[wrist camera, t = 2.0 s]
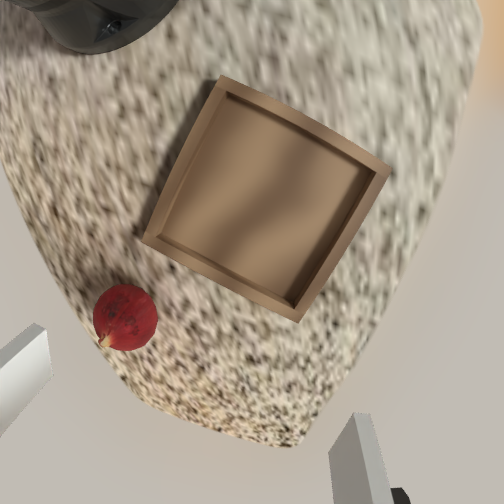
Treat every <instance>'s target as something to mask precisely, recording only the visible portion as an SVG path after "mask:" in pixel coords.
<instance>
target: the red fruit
mask: <svg viewBox="0 0 504 504" xmlns="http://www.w3.org/2000/svg"><path fill="white" fill-rule="evenodd" d="M157 322H158V317H157V311H156V306H155V304H154V302H153V300H152V298H151V297H150V296H149V295H148V294H147V293H146V292H145V291H144V290H143V289H141V288H139V287H137V286H134V285H131V284H120V285H116V286H113V287H111V288H110V289H108V290H107V291H105V292H104V293H103V294H102V295H101V296H100V298H99V300H98V302H97V303H96V305H95V307H94V311H93V325H94V328H95V331H96V334H97V336H98V337H99V338H100V339H99V340H98V343H99V344H100V346H101V347H111V348H113V349H116V350H122V351H132V350H135V349H137V348H140V347H142V346H144V345H145V344H146V343H147V342H148V341H149V340H150V338H151V337H152V336H153V335H154V333H155V329H156V326H157Z"/></svg>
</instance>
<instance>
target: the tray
mask: <svg viewBox="0 0 504 504" xmlns="http://www.w3.org/2000/svg"><path fill="white" fill-rule="evenodd" d="M392 169H393V168H391V167H390V166H388V165H387V164H385V163H384V162H382V161H381V160H379V159H378V158H376V157H375V156H373V155H372V154H370V153H369V152H367V151H366V150H364V149H362V148H361V147H359V146H358V145H356V144H354V143H353V142H351V141H350V140H348V139H346V138H345V137H343V136H341V135H340V134H338V133H336V132H335V131H333V130H331V129H329V128H328V127H326V126H324V125H322V124H321V123H319V122H317V121H315V120H313V119H312V118H310V117H308V116H306V115H304V114H302V113H301V112H299V111H297V110H295V109H293V108H291V107H289V106H287V105H285V104H283V103H281V102H279V101H277V100H275V99H273V98H271V97H269V96H267V95H265V94H263V93H261V92H259V91H257V90H254V89H252V88H250V87H248V86H246V85H244V84H241V83H239V82H237V81H235V80H232V79H230V78H228V77H225V76H223V75H220V77H219V79H218V81H217V82H216V84H215V86H214V88H213V90H212V91H211V93H210V95H209V97H208V99H207V101H206V102H205V104H204V106H203V108H202V110H201V112H200V114H199V116H198V118H197V119H196V121H195V123H194V125H193V127H192V129H191V131H190V133H189V135H188V137H187V139H186V141H185V143H184V145H183V147H182V149H181V151H180V153H179V156H178V158H177V160H176V162H175V164H174V166H173V168H172V170H171V173H170V175H169V177H168V179H167V181H166V184H165V186H164V188H163V190H162V193H161V195H160V197H159V199H158V202H157V204H156V206H155V209H154V211H153V214H152V216H151V218H150V221H149V223H148V226H147V228H146V231H145V233H144V236H143V238H142V241H141V242H142V243H144V244H146V245H148V246H150V247H151V248H153V249H155V250H157V251H159V252H161V253H162V254H164V255H166V256H168V257H170V258H172V259H173V260H175V261H177V262H179V263H181V264H183V265H184V266H186V267H188V268H190V269H192V270H194V271H196V272H198V273H199V274H201V275H203V276H205V277H207V278H209V279H211V280H213V281H215V282H217V283H218V284H220V285H222V286H224V287H226V288H228V289H230V290H232V291H234V292H236V293H238V294H240V295H242V296H244V297H246V298H248V299H250V300H252V301H254V302H256V303H258V304H260V305H261V306H263V307H265V308H267V309H269V310H271V311H274V312H276V313H278V314H280V315H282V316H284V317H286V318H288V319H290V320H292V321H294V322H296V323H299V322H300V320H301V319H302V317H303V316H304V314H305V313H306V311H307V310H308V308H309V307H310V305H311V304H312V302H313V301H314V299H315V298H316V296H317V295H318V293H319V292H320V290H321V289H322V287H323V286H324V284H325V282H326V281H327V279H328V278H329V276H330V275H331V273H332V272H333V270H334V268H335V267H336V265H337V264H338V262H339V260H340V259H341V257H342V256H343V254H344V252H345V251H346V249H347V247H348V246H349V244H350V242H351V241H352V239H353V237H354V236H355V234H356V232H357V231H358V229H359V227H360V226H361V224H362V222H363V221H364V219H365V217H366V215H367V214H368V212H369V210H370V209H371V207H372V205H373V203H374V202H375V200H376V198H377V196H378V194H379V193H380V191H381V189H382V187H383V185H384V184H385V182H386V180H387V178H388V176H389V175H390V173H391V171H392Z"/></svg>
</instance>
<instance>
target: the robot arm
mask: <svg viewBox="0 0 504 504" xmlns="http://www.w3.org/2000/svg"><path fill="white" fill-rule="evenodd" d="M5 1H8V2H10V3H13V4H15V5H18V6H21V7H23V8H26V9H28V10H30V11H32V12H33V13H34V14H35V16H36V17H37V18H38V20H39V21H40V22H41V23H42V25H43V26H44V27H45V29H46V30H47V31H48V33H49V34H50V35H51V37H52V38H53V39H54V40H55V41H56V42H58V43H59V44H61V45H62V46H64V47H67V48H69V49H72V50H74V51H76V52H79V53H85V54H98V53H104V52H108V51H112V50H115V49H118V48H120V47H123V46H125V45H127V44H129V43H131V42H133V41H135V40H136V39H138V38H140V37H141V36H143V35H144V34H146V33H147V32H148V31H150V30H151V29H152V28H153V27H155V26H156V25H157V24H158V23H159V22H160V21H161V20H162V19H163V18H164V17H165V16H166V15H167V14H168V13H169V12H170V11H171V10H172V8H173V7H174V6H175V4H176V3H177V2H178V0H5ZM52 377H53V371H52V366H51V359H50V353H49V347H48V339H47V333H46V329H45V328H43V327H41V326H39V325H37V324H35V323H33V324H32V325H31V326H29V327H28V328H27V329H25V330H24V331H23V332H22V333H20V334H19V335H18V336H17V337H16V338H14V339H13V340H12V341H11V342H9V343H8V344H7V345H6V346H5V347H3V348H2V349H1V350H0V437H1V435H2V434H3V433H4V432H5V431H6V429H7V428H8V427H9V426H10V425H11V423H12V422H13V421H14V420H15V419H16V418H17V416H18V415H19V414H20V413H21V412H22V411H23V409H24V408H25V407H26V406H27V404H28V403H29V402H30V401H31V400H32V399H33V398H34V397H35V396H36V395H37V393H38V392H39V391H40V390H41V389H42V388H43V387H44V386H45V384H46V383H47V382H48V381H49V380H50V379H51V378H52ZM328 453H329V462H330V470H331V480H332V489H333V499H334V504H411V503H410V500H409V497H408V496H407V494H406V493H405V492H404V490H403V489H402V488H390V486H389V481H388V477H387V474H386V470H385V466H384V462H383V459H382V455H381V451H380V448H379V444H378V440H377V437H376V433H375V430H374V426H373V423H372V419H371V416H370V414H362V413H353V414H352V416H351V418H350V419H349V421H348V423H347V424H346V426H345V428H344V429H343V431H342V432H341V434H340V435H339V437H338V438H337V440H336V442H335V443H334V445H333V446H332V448H331V449H330V451H329V452H328Z"/></svg>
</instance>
